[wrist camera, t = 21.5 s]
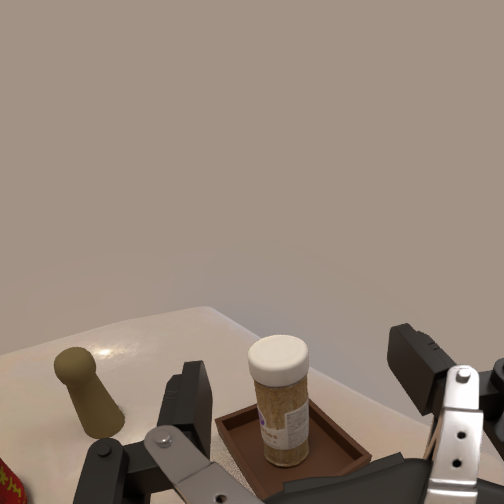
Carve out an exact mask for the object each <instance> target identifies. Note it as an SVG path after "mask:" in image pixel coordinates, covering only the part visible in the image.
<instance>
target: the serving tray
mask: <svg viewBox="0 0 504 504" xmlns="http://www.w3.org/2000/svg"><path fill="white" fill-rule="evenodd" d="M308 409H309V432H308V445H309V453H308V455H307V457H306V458H305V459H304V460H303V461H302V462H301V463H300V464H298V465H295V466H291V467H278V466H276V465H273V464H271V463H270V462H269V461H268V460H266V457H265V456H264V442H263V438H262V434H261V427H260V420H259V414H258V408H257V404H254V405H252V406H249V407H246V408H244V409H241V410H239V411H236V412H233V413H231V414H228V415H225V416H222V417H220V418H217V419H215V423H216V426H217V429H218V432H219V435H220V437H221V438H222V440H223V442H224V444H225V445H226V447H227V449H228V450H229V452H230V454H231V456H232V457H233V459H234V461H235V462H236V464H237V466H238V467H239V469H240V471H241V472H242V474H243V475H244V477H245V479H246V480H247V482H248V483H249V485H250V486H251V488H252V490H253V491H254V493H255V494H256V496H257V497H258V499H260V500H261V501H262V500H263V499H265V498H267V497H268V496H270V495H272V494H274V493H276V492H278V491H281V490H283V484H282V482H287V481H293V480H299V479H304V478H309V477H325V476H345V475H348V474H350V473H352V472H354V471H356V470H358V469H360V468H362V467H364V466H366V465H367V464H369V463H370V461H371V457H372V455H371V454H370V453H369V452H368V451H366V450H365V449H364V448H363V447H362V446H361V445H360V444H358V443H357V442H356V441H355V440H354V439H353V438H352V437H351V436H349V435H348V434H347V433H346V432H345V431H344V430H343V429H342V428H341V427H339V426H338V425H337V424H336V423H335V422H334V421H333V420H332V419H331V418H330V417H329V416H327V415H326V414H325V413H324V412H323V411H322V410H321V409H320V408H319V407H318V406H317V405H316V404H315V403H314V402H313V401H312V400H310V399H309V398H308Z"/></svg>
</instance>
